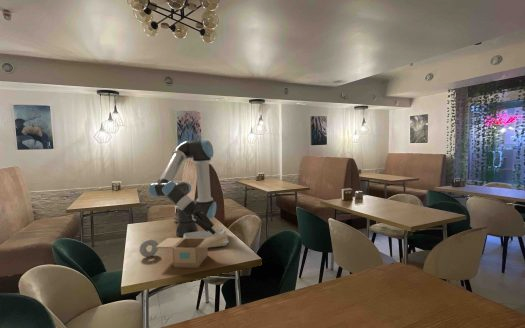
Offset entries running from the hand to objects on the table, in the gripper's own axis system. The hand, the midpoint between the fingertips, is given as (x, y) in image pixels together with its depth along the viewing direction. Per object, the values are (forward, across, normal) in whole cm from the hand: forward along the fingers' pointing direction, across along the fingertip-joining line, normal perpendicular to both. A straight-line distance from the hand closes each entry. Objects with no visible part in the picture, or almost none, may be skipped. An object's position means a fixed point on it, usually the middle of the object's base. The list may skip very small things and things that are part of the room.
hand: (219, 237), depth 139 cm
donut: (-20, -5, -39) cm, 44 cm away
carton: (-5, 0, -24) cm, 24 cm away
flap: (-1, 0, -3) cm, 4 cm away
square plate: (-3, -28, -22) cm, 36 cm away
